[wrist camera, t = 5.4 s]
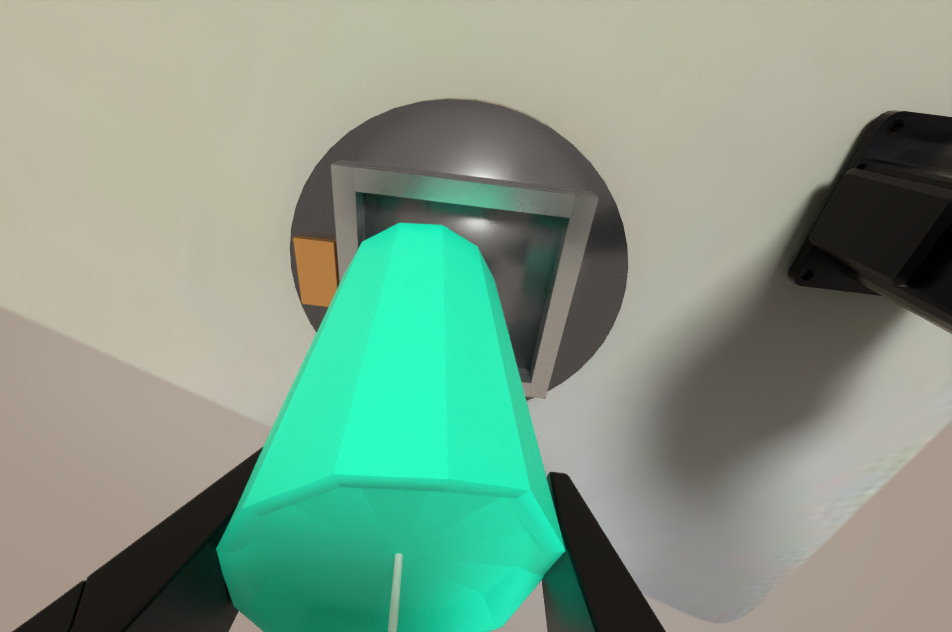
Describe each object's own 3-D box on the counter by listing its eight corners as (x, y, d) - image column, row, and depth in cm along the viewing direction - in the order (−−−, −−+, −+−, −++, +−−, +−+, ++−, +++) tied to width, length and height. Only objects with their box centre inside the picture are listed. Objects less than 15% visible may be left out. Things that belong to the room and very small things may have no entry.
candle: (420, 375, 18) (395, 773, 8) (310, 290, 15) (53, 730, 5) (524, 297, 16) (668, 680, 6) (421, 185, 13) (366, 538, 3)
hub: (669, 123, 14) (695, 129, 12) (576, 409, 21) (583, 440, 19) (281, 74, 14) (246, 72, 12) (318, 378, 21) (300, 407, 19)
